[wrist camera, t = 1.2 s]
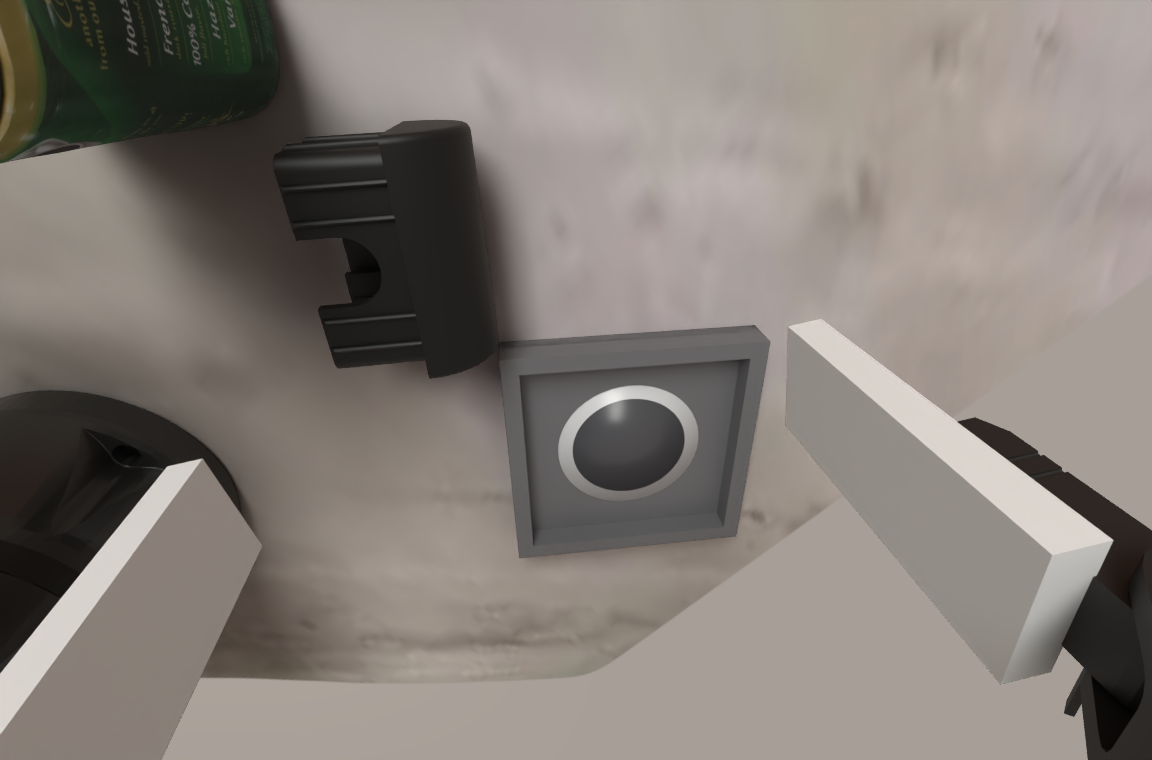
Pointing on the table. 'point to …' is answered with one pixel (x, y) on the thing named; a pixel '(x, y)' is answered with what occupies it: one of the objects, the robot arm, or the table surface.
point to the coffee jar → (128, 69)
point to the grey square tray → (630, 436)
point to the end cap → (398, 242)
